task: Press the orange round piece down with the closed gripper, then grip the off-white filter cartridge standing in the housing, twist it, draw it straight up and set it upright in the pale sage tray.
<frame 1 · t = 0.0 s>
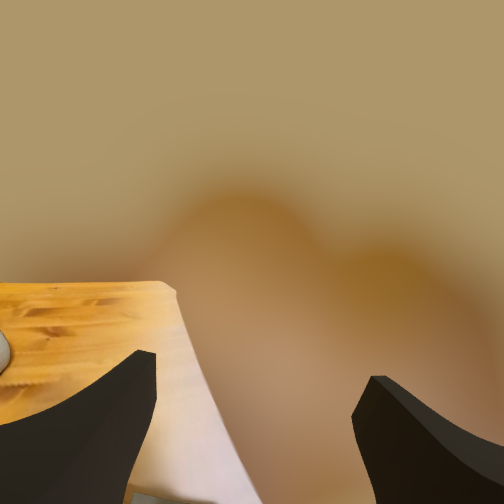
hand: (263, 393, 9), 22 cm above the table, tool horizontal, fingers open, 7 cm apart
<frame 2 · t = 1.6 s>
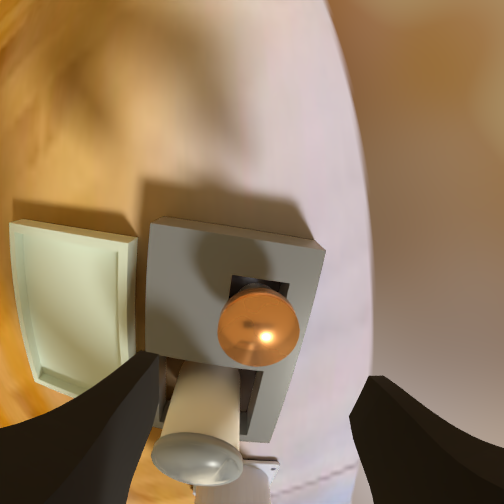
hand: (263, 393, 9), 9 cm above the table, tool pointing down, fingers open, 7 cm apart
orange round piece: (257, 316, 14), point 4 cm above the table, slide at 0.0 cm
cartridge: (209, 377, 19), resting in housing
tray: (75, 320, 18), on the table
housing: (222, 339, 19), on the table
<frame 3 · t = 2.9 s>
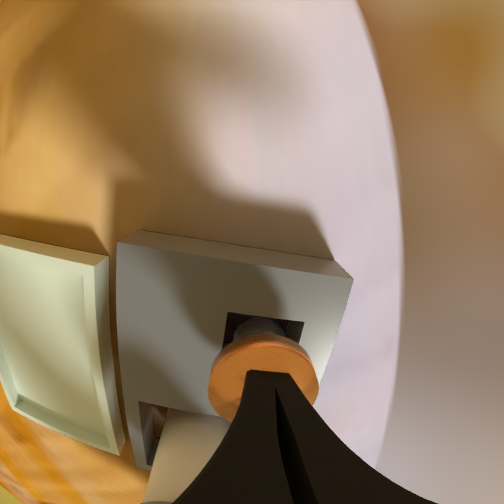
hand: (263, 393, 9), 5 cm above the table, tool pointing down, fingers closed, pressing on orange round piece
orange round piece: (261, 364, 10), point 4 cm above the table, slide at 0.2 cm, touching gripper
cartridge: (203, 418, 15), resting in housing
tray: (47, 349, 14), on the table
housing: (217, 379, 15), on the table
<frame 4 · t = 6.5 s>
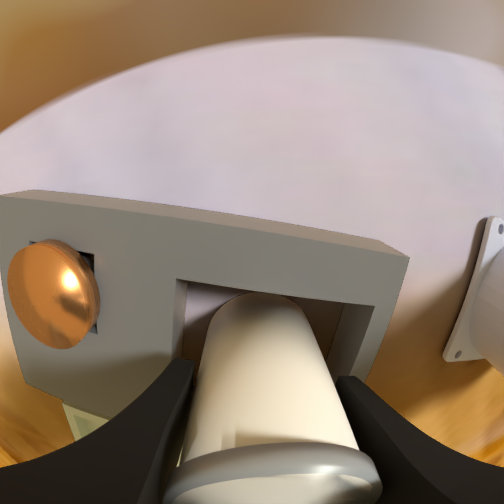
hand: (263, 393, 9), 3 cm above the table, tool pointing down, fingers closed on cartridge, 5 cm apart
orange round piece: (68, 282, 9), point 2 cm above the table, slide at 1.8 cm
cartridge: (259, 340, 12), resting in housing, touching gripper
tray: (190, 464, 14), on the table
housing: (177, 317, 12), on the table
when the fingers open (5 cm above the table, at t = 10.9 s): cartridge drops 1 cm, resting on tray.
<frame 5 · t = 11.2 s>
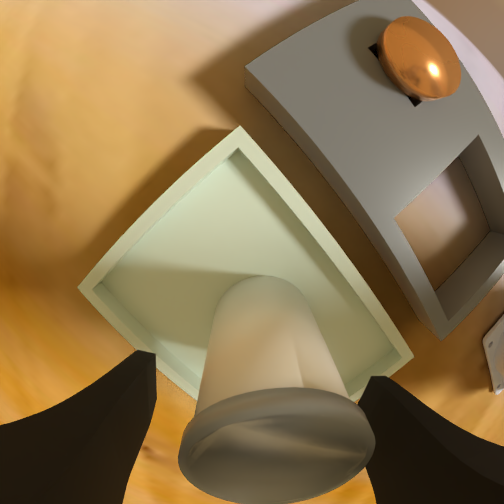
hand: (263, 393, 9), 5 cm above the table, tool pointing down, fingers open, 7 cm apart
orange round piece: (406, 66, 9), point 2 cm above the table, slide at 1.8 cm
cartridge: (262, 320, 13), point 1 cm above the table, touching tray
tray: (257, 318, 14), on the table
housing: (416, 159, 12), on the table
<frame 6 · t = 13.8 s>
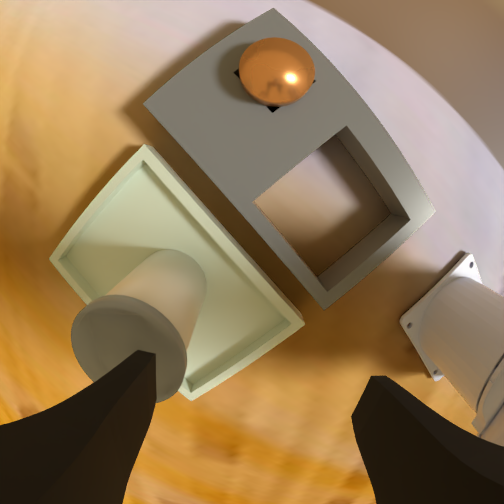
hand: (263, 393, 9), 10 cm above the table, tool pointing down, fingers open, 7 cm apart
orange round piece: (274, 79, 13), point 2 cm above the table, slide at 1.8 cm
cartridge: (171, 284, 17), point 1 cm above the table, touching tray
tray: (170, 283, 18), on the table
housing: (296, 154, 16), on the table
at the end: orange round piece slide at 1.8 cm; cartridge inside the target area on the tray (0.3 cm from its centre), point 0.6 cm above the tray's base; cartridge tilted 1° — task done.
